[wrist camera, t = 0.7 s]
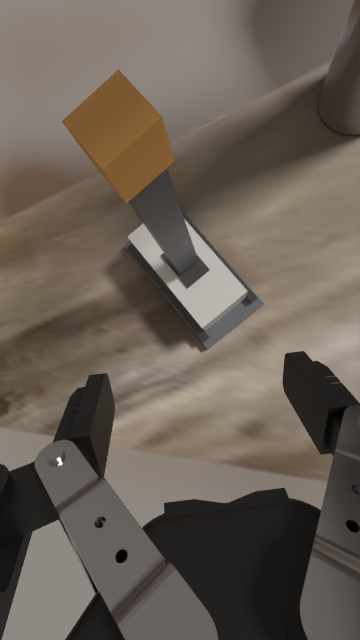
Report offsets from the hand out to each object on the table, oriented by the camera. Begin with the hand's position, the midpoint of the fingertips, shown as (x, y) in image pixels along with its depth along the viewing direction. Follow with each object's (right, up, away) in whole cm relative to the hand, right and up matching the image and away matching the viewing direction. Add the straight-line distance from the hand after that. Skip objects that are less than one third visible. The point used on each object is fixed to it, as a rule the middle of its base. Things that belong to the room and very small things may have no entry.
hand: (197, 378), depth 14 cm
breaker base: (+1, +9, +27) cm, 28 cm away
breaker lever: (0, +9, +21) cm, 22 cm away
